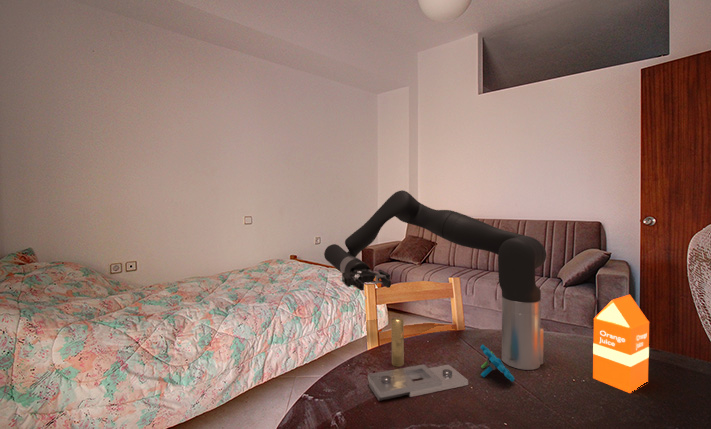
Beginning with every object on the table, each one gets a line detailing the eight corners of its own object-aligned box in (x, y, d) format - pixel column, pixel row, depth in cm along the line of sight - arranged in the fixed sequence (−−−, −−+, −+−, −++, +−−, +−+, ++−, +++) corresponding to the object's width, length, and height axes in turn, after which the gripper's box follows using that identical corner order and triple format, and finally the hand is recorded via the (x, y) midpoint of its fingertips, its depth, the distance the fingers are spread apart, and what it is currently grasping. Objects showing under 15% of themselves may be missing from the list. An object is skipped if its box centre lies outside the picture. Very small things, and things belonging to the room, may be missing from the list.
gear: (521, 384, 77) (487, 349, 79) (502, 401, 77) (468, 366, 79) (510, 367, 87) (481, 337, 90) (493, 382, 88) (464, 352, 90)
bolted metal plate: (448, 369, 87) (448, 357, 87) (468, 385, 80) (468, 372, 80) (367, 384, 81) (367, 371, 80) (380, 403, 73) (380, 389, 73)
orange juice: (648, 382, 80) (650, 298, 79) (630, 393, 75) (632, 304, 75) (610, 368, 86) (611, 290, 86) (591, 377, 82) (593, 295, 81)
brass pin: (400, 360, 93) (400, 316, 92) (405, 365, 90) (405, 320, 89) (389, 361, 92) (389, 317, 91) (394, 367, 89) (394, 321, 88)
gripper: (334, 260, 110) (354, 275, 95) (374, 257, 115) (398, 271, 101) (333, 282, 111) (353, 300, 96) (373, 278, 116) (397, 295, 102)
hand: (376, 285), depth 98 cm, fingers open, 8 cm apart
